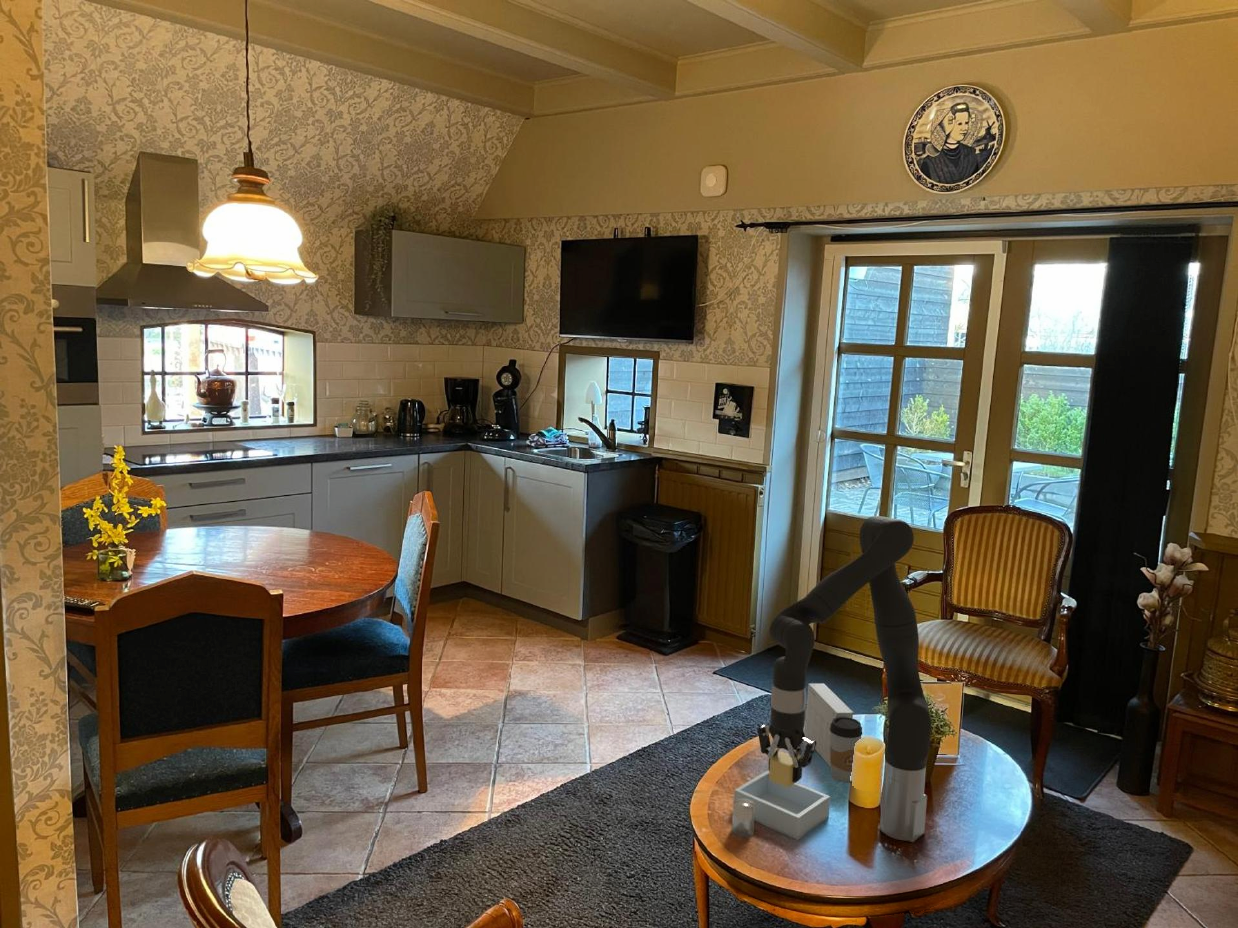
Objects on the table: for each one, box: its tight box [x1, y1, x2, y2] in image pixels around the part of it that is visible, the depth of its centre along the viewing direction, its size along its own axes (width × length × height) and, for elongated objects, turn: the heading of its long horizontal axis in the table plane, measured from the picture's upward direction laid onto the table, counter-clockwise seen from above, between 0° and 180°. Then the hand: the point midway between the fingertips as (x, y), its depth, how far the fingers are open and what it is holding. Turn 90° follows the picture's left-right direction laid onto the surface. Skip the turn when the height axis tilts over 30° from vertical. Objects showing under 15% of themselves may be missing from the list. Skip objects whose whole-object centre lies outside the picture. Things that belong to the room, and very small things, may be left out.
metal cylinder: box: [731, 798, 755, 839], centre depth 216 cm, size 5×5×7 cm
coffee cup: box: [830, 717, 863, 783], centre depth 243 cm, size 8×8×15 cm
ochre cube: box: [768, 751, 794, 788], centre depth 207 cm, size 5×5×5 cm
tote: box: [733, 770, 831, 841], centre depth 224 cm, size 18×14×6 cm
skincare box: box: [804, 683, 854, 768], centre depth 258 cm, size 21×5×16 cm, turn 9°
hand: (784, 776), depth 208 cm, fingers closed on ochre cube, 5 cm apart
